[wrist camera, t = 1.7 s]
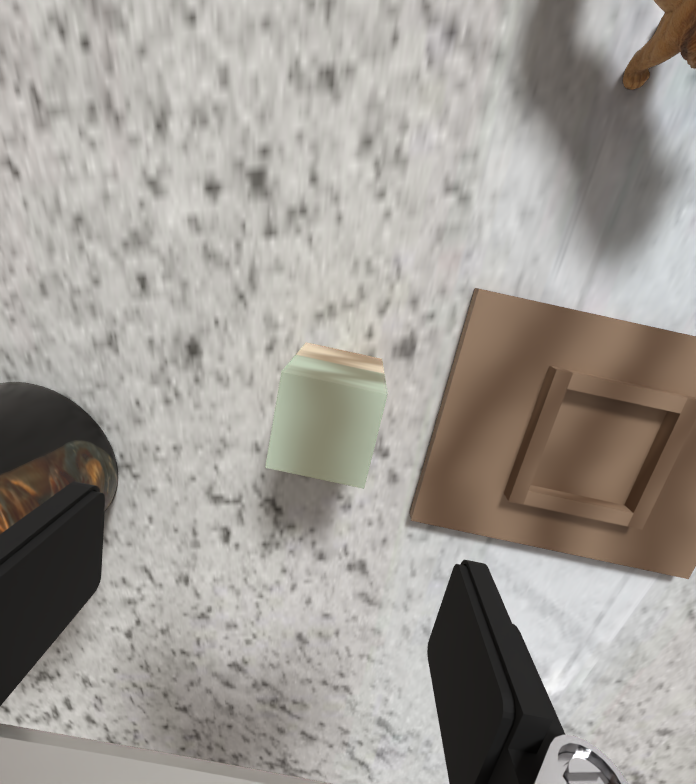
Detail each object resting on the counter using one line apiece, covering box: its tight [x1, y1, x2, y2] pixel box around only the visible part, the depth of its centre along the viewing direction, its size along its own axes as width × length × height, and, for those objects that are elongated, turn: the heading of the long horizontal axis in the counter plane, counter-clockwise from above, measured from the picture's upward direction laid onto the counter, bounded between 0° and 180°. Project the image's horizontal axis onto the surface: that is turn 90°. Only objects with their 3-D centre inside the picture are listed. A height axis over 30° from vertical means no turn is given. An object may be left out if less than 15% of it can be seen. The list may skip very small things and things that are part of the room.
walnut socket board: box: [410, 288, 696, 579], centre depth 27 cm, size 20×16×2 cm
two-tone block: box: [265, 343, 388, 489], centre depth 24 cm, size 5×5×8 cm
